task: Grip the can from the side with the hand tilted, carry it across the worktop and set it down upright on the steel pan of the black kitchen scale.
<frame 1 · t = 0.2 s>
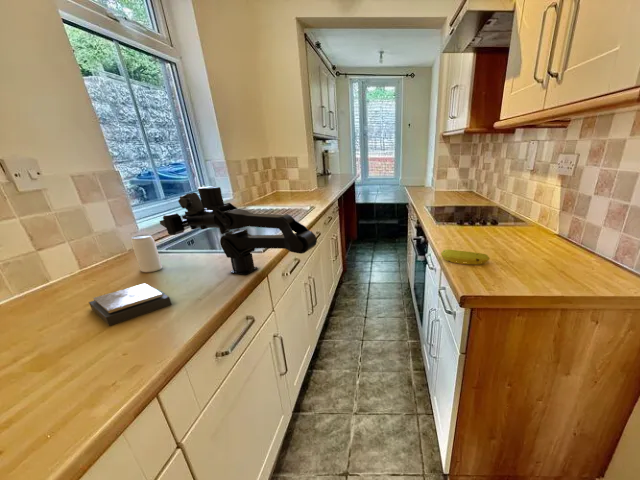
hand: (171, 219, 109), 17 cm above the worktop, tool horizontal, fingers open, 9 cm apart
scale: (132, 307, 86), on the worktop
can: (152, 270, 112), on the worktop
scale pan: (128, 297, 85), point 3 cm above the worktop, slide at 0.0 cm
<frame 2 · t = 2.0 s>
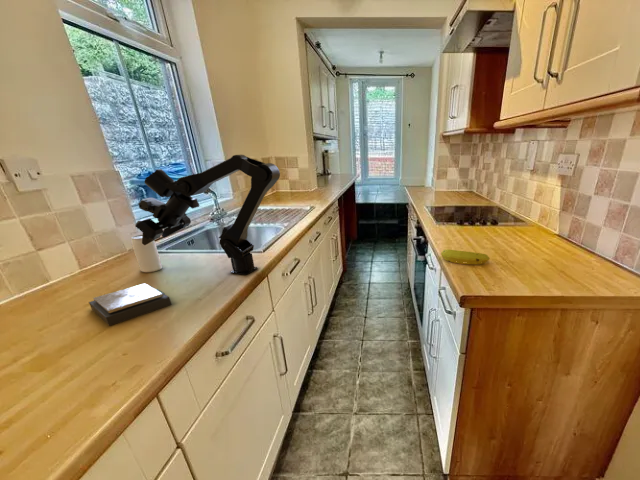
hand: (153, 240, 108), 11 cm above the worktop, tool tilted 45°, fingers open, 9 cm apart
nothing on the worktop moved.
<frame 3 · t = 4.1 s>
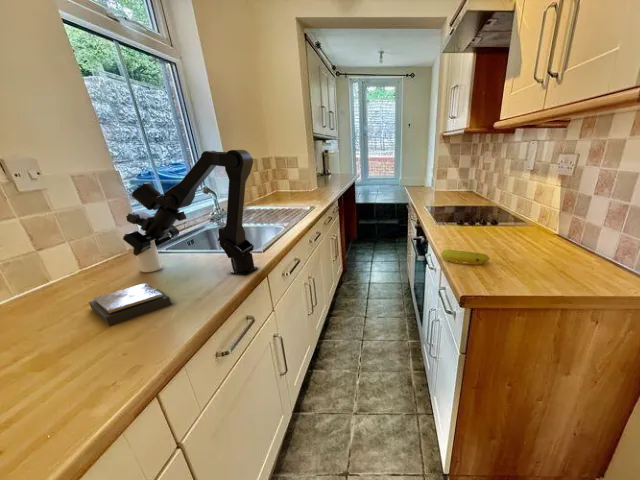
hand: (142, 251, 110), 7 cm above the worktop, tool tilted 45°, fingers closed on can, 6 cm apart
can: (152, 270, 112), on the worktop, touching gripper
everything else where it was.
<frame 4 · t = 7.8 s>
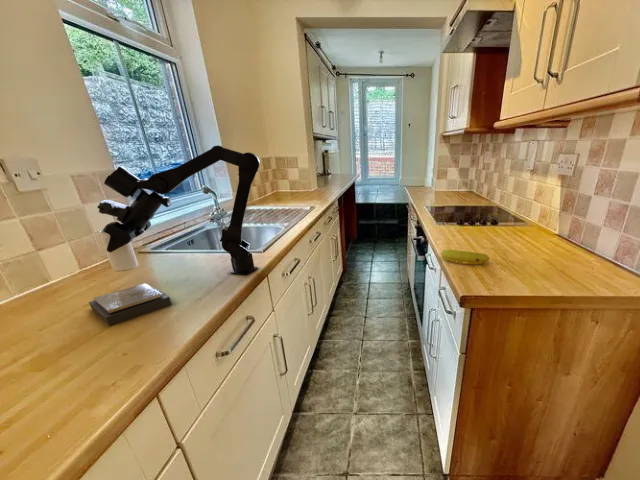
hand: (113, 248, 96), 12 cm above the worktop, tool tilted 45°, fingers closed on can, 6 cm apart
can: (126, 268, 99), point 5 cm above the worktop, touching gripper
everything else where it was.
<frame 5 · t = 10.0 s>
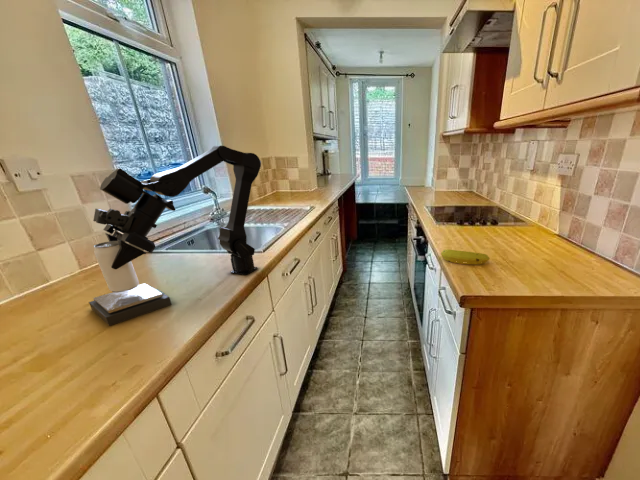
hand: (109, 265, 81), 12 cm above the worktop, tool tilted 45°, fingers closed on can, 6 cm apart
can: (125, 288, 85), point 5 cm above the worktop, touching gripper
everything else where it was.
when the fingers open (10 cm above the worktop, at t = 11.8 s): can stays where it is, resting on scale pan.
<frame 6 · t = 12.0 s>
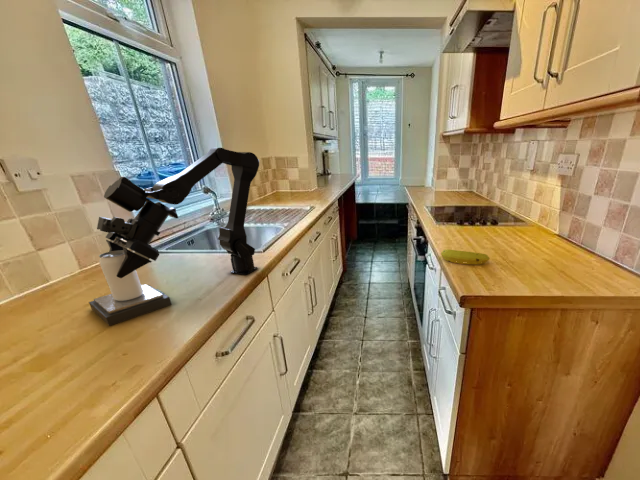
hand: (112, 273, 81), 10 cm above the worktop, tool tilted 45°, fingers open, 9 cm apart
can: (129, 297, 85), point 3 cm above the worktop, touching scale pan
scale pan: (129, 298, 85), point 3 cm above the worktop, slide at -0.3 cm, touching can
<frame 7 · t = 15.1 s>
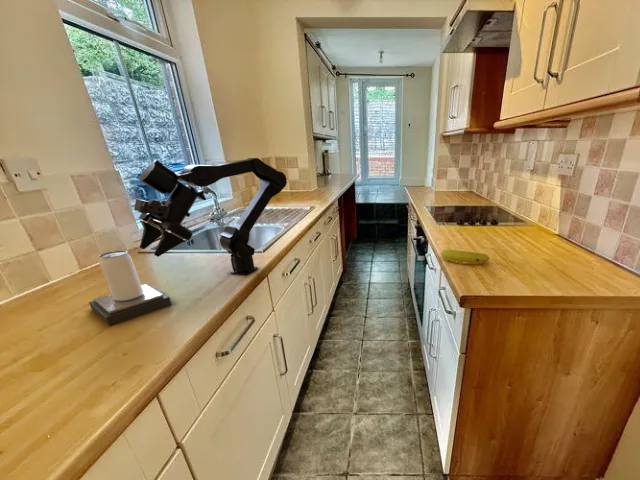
hand: (148, 252, 87), 13 cm above the worktop, tool tilted 45°, fingers open, 9 cm apart
nothing on the worktop moved.
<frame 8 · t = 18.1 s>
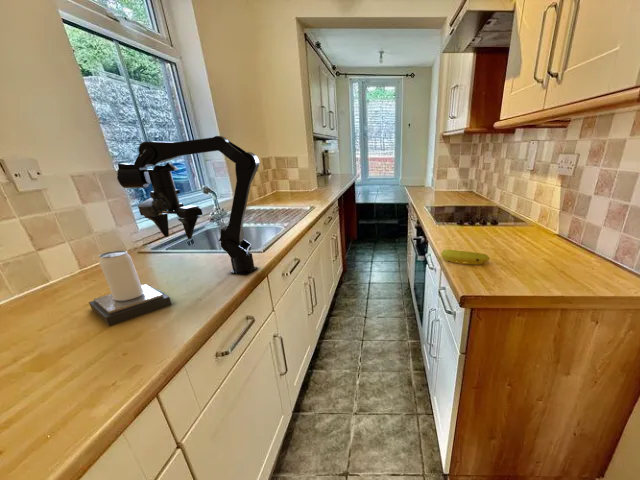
hand: (178, 237, 102), 13 cm above the worktop, tool pointing down, fingers open, 9 cm apart
nothing on the worktop moved.
at the end: can inside the target area on the scale (0.2 cm from its centre), point 3.0 cm above the scale's base; can tilted 0°; the gripper is holding nothing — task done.
